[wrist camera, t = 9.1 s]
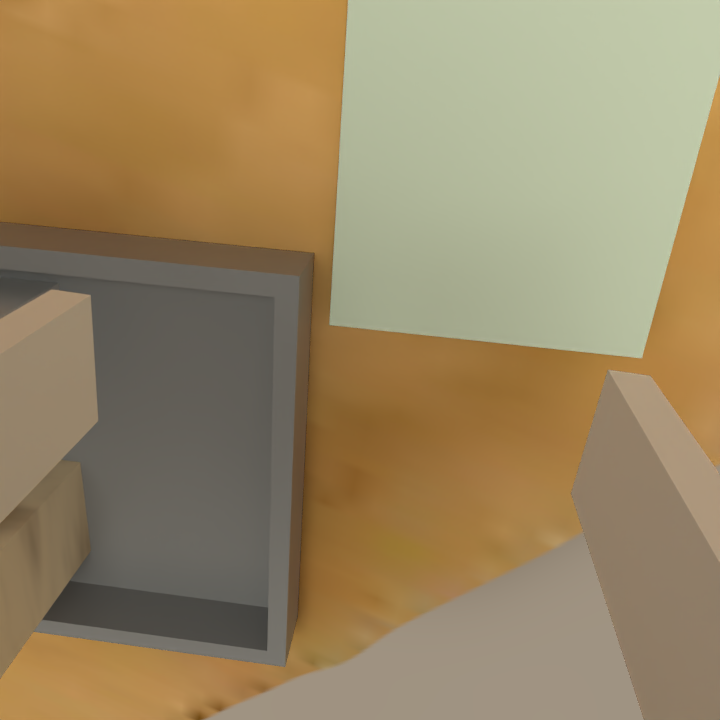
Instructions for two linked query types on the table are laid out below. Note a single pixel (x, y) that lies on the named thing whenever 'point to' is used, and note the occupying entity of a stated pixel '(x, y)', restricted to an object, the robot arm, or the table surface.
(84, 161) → the table surface
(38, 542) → the maple box
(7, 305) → the grey box
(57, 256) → the parts bin
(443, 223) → the mat
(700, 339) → the table surface
